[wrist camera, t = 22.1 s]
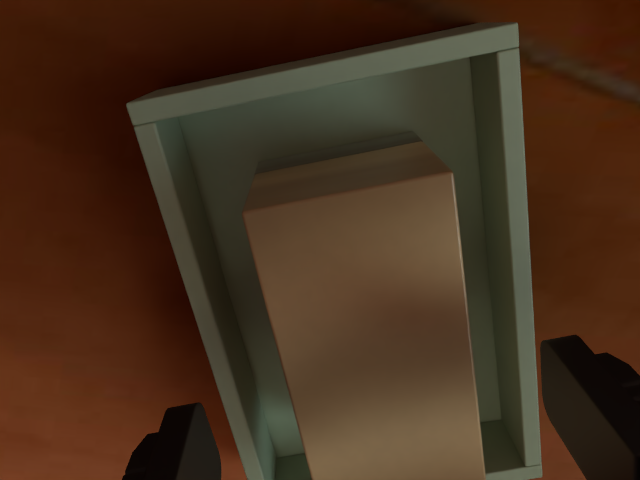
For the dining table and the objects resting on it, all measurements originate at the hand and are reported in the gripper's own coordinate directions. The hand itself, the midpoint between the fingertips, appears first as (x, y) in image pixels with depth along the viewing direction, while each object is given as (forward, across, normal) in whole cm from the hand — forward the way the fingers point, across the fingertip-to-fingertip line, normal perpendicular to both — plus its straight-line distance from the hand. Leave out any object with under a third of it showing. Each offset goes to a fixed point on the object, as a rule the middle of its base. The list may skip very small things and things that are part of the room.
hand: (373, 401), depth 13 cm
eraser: (+7, 0, 0) cm, 7 cm away
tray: (+7, 0, 0) cm, 7 cm away
